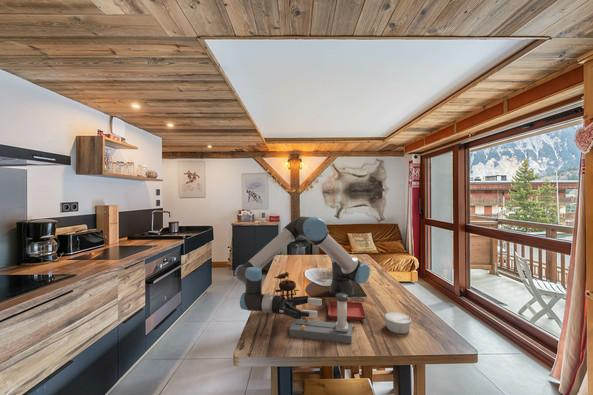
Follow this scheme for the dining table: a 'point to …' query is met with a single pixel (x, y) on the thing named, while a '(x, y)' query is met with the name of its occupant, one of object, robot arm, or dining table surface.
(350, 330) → the fader console
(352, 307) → the plant saucer
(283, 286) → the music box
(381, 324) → the dining table surface
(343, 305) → the handle
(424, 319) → the dining table surface
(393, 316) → the ramekin
